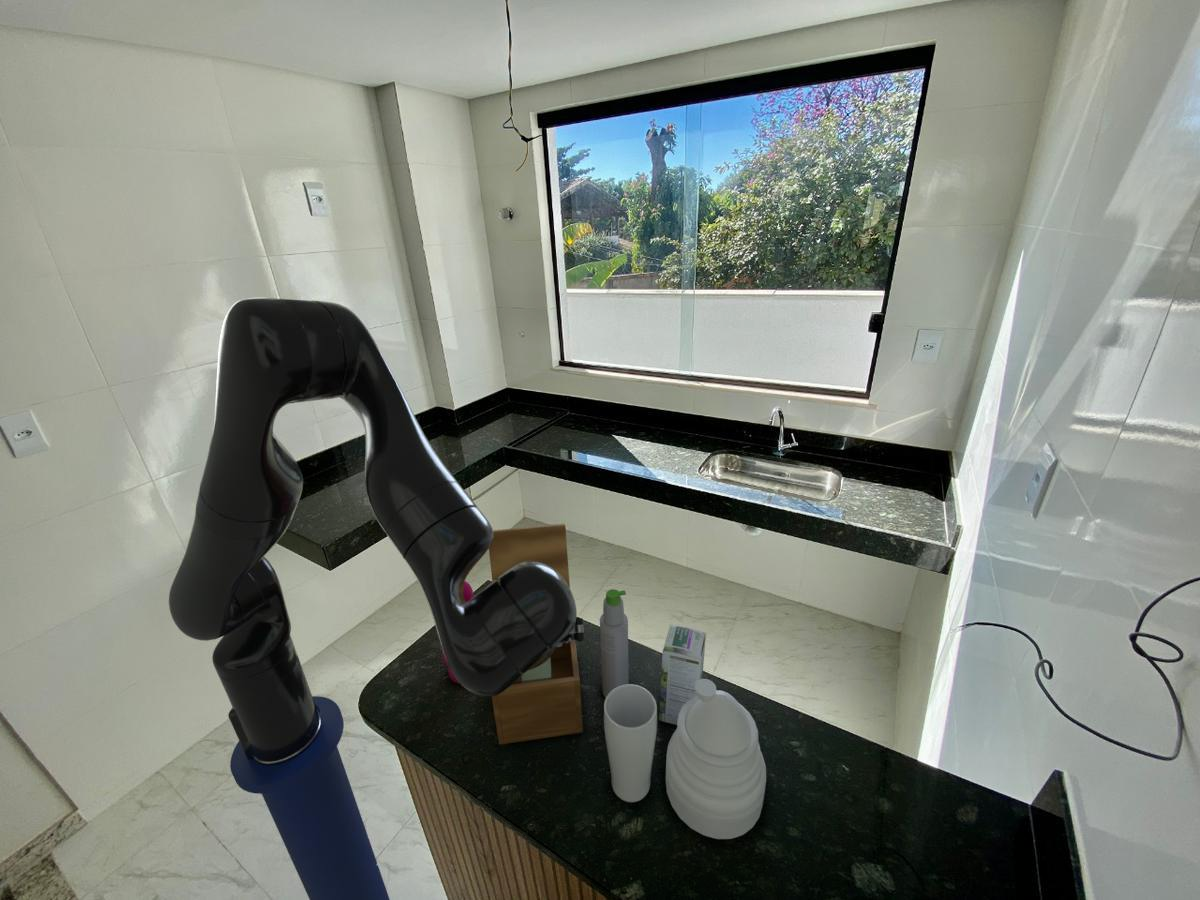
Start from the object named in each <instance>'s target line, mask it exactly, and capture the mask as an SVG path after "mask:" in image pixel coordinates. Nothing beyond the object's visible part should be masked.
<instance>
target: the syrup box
mask: <svg viewBox="0 0 1200 900" xmlns="http://www.w3.org/2000/svg"><path fill="white" fill-rule="evenodd" d="M706 638H707V632H705V631H702V630H699V629H695V628H691V627H686V626H682V625H676V624H675V625H674V624H670V625H669V627H668V631H667V633H666V639H665V642H664V644H663V648H662V652H661V671H660V689H659V690H660V691H659V712H658V720H659V721H660V722H663V723H668V724H672V725H676V726H677V720H678V714H679V712H680V710H681V708H682V706H683V705H684V704H685V703H686V702H687V701H688V700H690V699H692V698H693V697H695V696H697V695H696V692H695V683H696V682H697V681H698V680H699V679H703V673H704V662H705V653H706V652H705V651H706Z"/></svg>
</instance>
